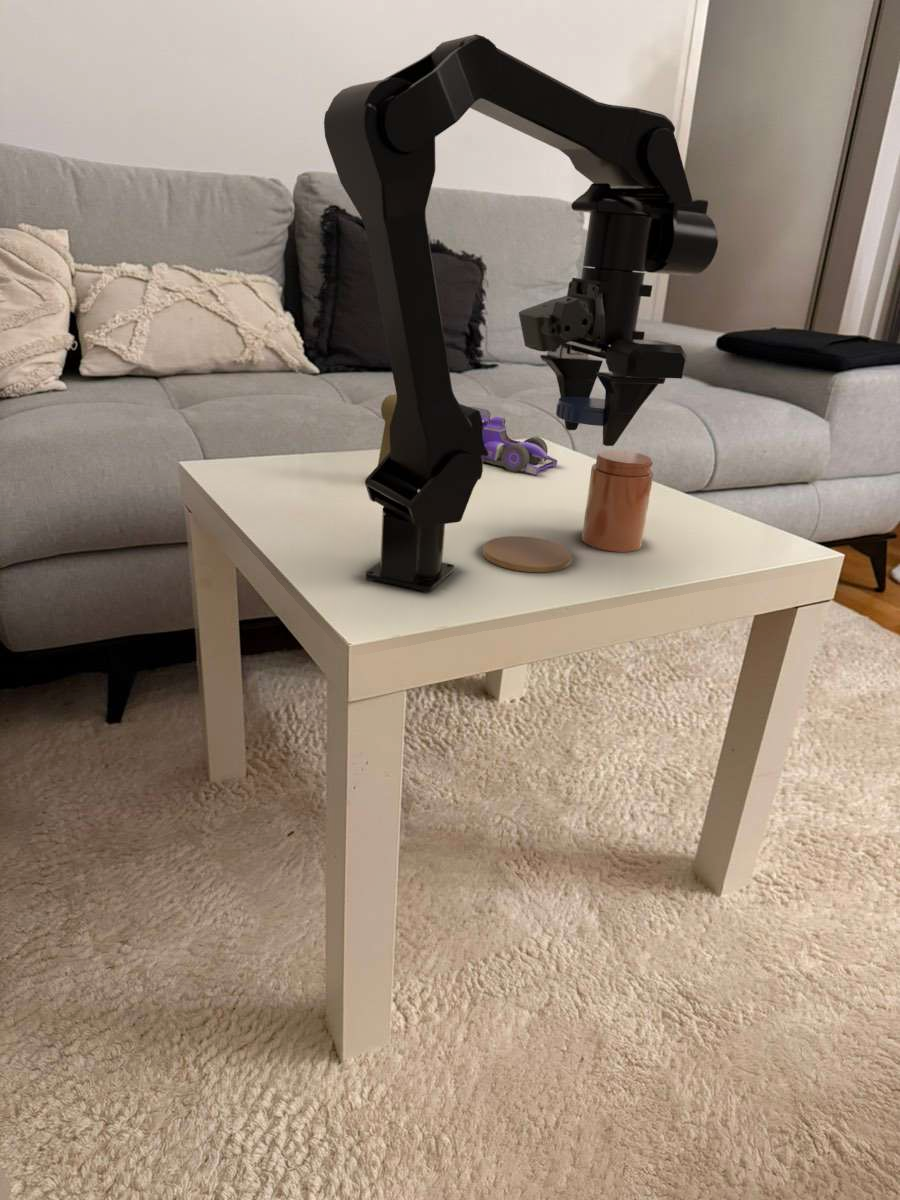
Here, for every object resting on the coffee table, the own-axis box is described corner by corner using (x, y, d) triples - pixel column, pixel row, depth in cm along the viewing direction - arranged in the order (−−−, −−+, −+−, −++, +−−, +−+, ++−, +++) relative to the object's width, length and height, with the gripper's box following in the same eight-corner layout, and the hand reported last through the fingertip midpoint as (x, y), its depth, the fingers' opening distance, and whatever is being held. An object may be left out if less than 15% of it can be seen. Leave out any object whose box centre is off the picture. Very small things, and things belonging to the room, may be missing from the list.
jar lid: (583, 411, 89) (585, 395, 88) (641, 423, 84) (644, 406, 84) (541, 415, 84) (543, 398, 83) (601, 428, 79) (603, 411, 79)
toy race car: (532, 478, 115) (538, 430, 112) (437, 458, 121) (440, 412, 119) (560, 465, 122) (566, 420, 120) (469, 447, 129) (473, 403, 126)
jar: (635, 556, 88) (650, 467, 85) (575, 544, 90) (587, 457, 87) (645, 538, 94) (660, 455, 90) (588, 528, 96) (600, 446, 92)
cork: (416, 492, 104) (421, 401, 100) (369, 486, 105) (372, 396, 101) (427, 480, 110) (432, 394, 105) (382, 474, 111) (385, 388, 106)
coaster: (558, 579, 81) (559, 573, 80) (469, 561, 83) (470, 555, 83) (580, 551, 88) (581, 546, 88) (498, 535, 91) (499, 530, 91)
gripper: (491, 258, 83) (476, 417, 89) (594, 270, 68) (567, 462, 74) (588, 266, 88) (567, 418, 94) (705, 279, 72) (671, 460, 78)
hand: (588, 437), depth 85 cm, fingers closed on jar lid, 6 cm apart
